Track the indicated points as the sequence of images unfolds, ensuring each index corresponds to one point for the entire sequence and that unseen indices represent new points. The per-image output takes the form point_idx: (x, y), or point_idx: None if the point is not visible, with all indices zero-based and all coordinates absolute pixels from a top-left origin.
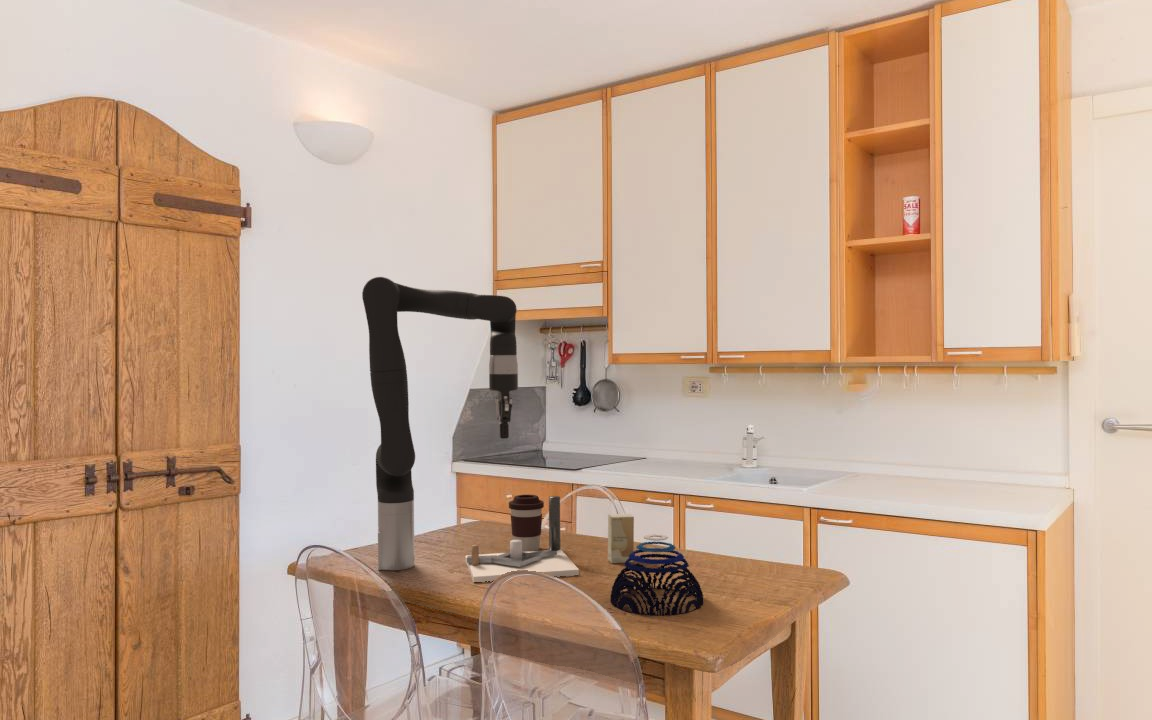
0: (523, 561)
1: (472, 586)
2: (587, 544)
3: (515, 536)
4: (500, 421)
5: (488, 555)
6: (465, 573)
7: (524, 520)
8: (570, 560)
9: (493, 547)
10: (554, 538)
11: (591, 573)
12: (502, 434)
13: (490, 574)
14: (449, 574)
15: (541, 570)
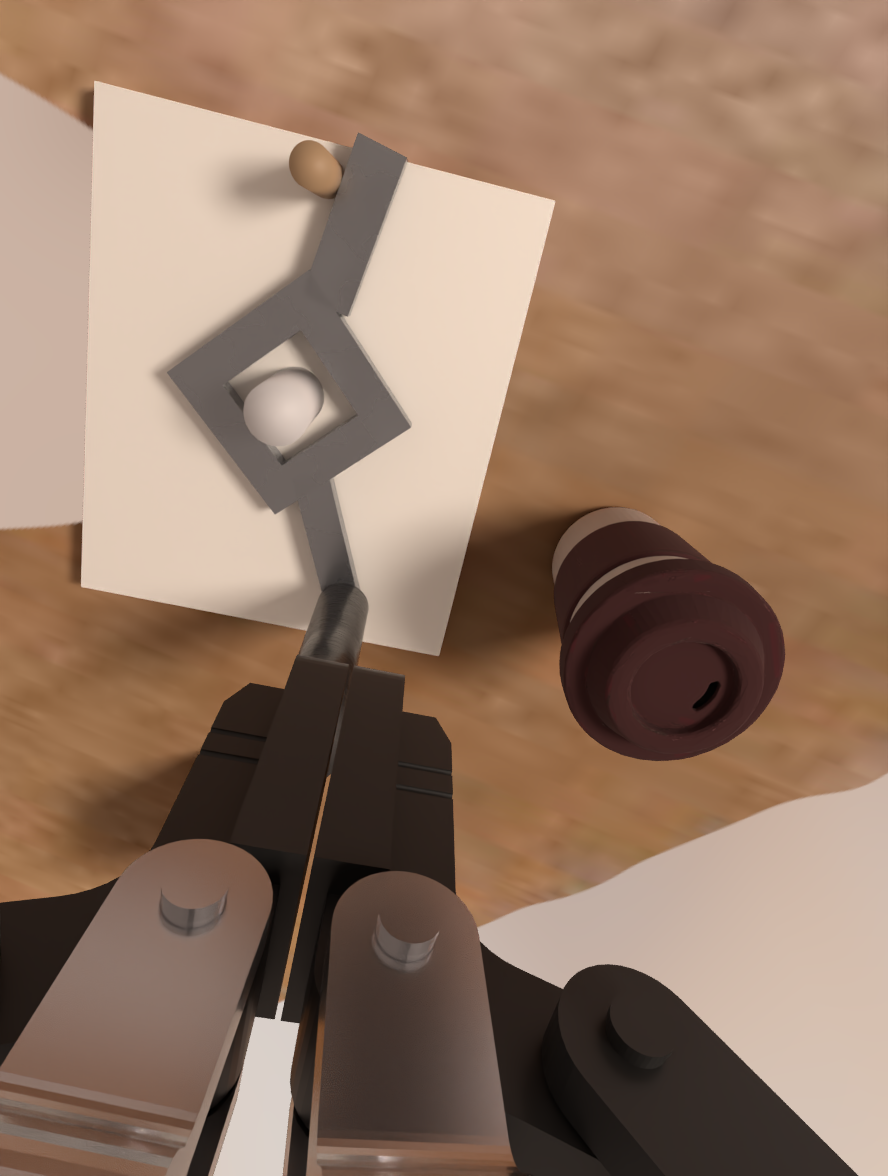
0: (186, 397)
1: (50, 59)
2: (549, 792)
3: (610, 524)
4: (99, 907)
5: (491, 319)
6: (308, 113)
7: (574, 589)
8: (236, 616)
9: (737, 438)
10: (310, 621)
11: (110, 629)
12: (226, 710)
13: (113, 188)
14: (323, 14)
15: (113, 444)
